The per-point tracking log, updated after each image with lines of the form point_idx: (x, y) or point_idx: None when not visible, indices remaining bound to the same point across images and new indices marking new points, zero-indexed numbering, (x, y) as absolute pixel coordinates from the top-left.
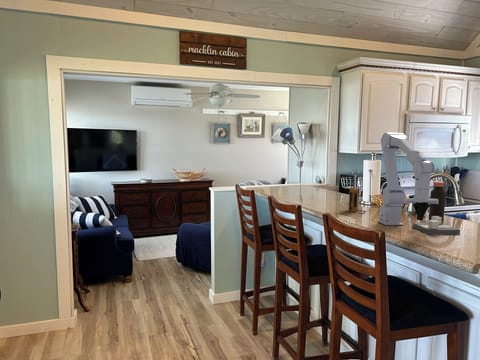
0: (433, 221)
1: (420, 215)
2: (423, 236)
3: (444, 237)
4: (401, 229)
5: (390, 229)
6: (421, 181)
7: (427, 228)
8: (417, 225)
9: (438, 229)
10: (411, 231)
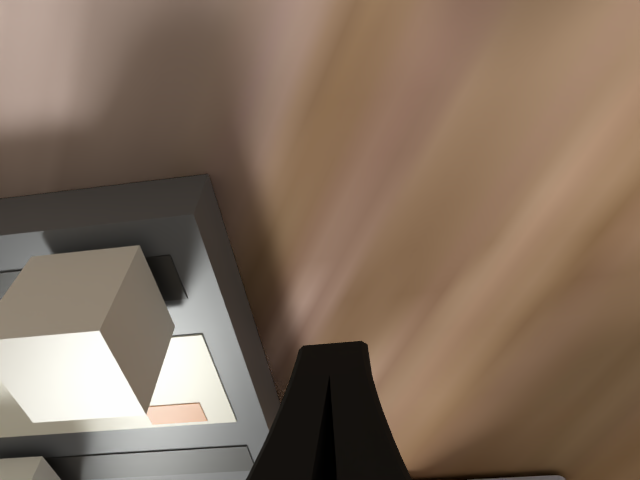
0: (78, 349)
1: (370, 425)
2: (357, 23)
3: (3, 3)
4: (480, 356)
5: (632, 345)
6: None
7: (198, 282)
8: (269, 419)
9: (40, 245)
10: (399, 288)
